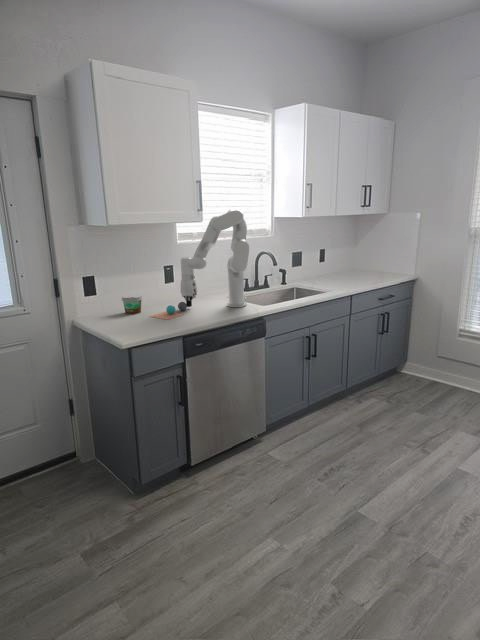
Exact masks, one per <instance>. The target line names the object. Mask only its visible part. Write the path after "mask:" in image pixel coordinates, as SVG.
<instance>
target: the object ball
mask: <svg viewBox="0 0 480 640" xmlns="http://www.w3.org/2000/svg"><path fill="white" fill-rule="evenodd" d="M166 311H167V313H168V314H174V313H176V312H177V311H176V307H175V305H172V304H171V305H168V306H167V307H166ZM166 311H165V312H166Z"/></svg>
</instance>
